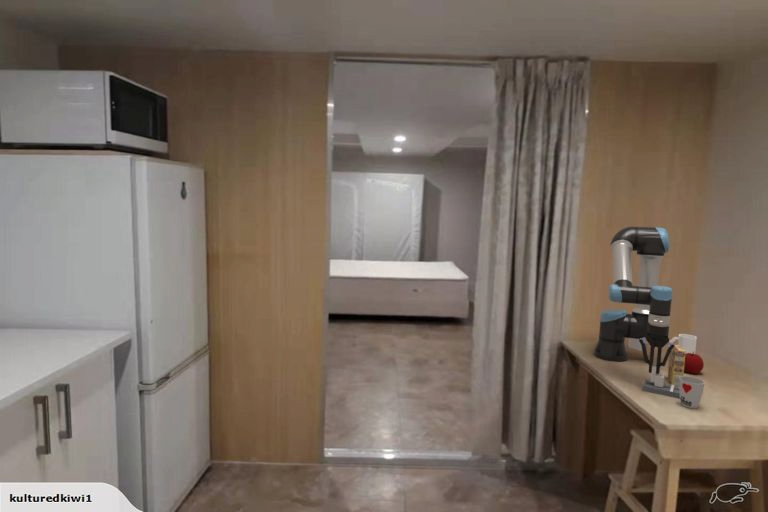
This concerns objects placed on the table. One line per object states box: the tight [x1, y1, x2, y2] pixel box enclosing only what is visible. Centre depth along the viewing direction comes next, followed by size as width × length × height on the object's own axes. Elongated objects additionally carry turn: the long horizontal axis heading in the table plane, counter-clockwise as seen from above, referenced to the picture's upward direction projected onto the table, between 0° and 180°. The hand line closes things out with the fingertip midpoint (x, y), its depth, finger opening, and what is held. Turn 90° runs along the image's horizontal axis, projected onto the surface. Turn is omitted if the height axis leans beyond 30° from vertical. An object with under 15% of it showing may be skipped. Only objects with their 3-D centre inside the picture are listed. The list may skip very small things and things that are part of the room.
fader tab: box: [654, 373, 666, 388], centre depth 199 cm, size 3×5×4 cm, turn 146°
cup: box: [679, 375, 705, 409], centre depth 184 cm, size 8×8×10 cm
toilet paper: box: [627, 338, 648, 353], centre depth 258 cm, size 8×11×7 cm
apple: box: [684, 352, 704, 375], centre depth 222 cm, size 9×9×10 cm
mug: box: [669, 333, 698, 354], centre depth 249 cm, size 12×9×10 cm
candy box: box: [667, 344, 686, 386], centre depth 208 cm, size 9×4×15 cm, turn 162°
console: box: [641, 379, 680, 399], centre depth 197 cm, size 18×9×4 cm, turn 56°
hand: (653, 380), depth 200 cm, fingers closed
